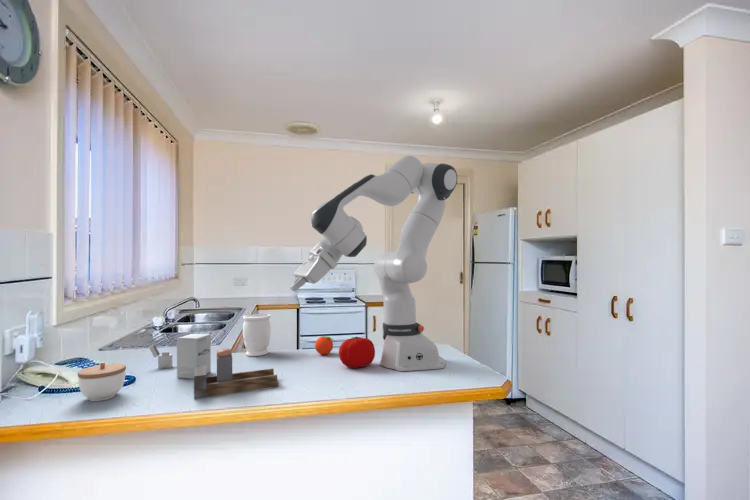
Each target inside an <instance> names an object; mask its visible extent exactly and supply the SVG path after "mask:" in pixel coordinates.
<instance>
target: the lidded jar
mask: <svg viewBox="0 0 750 500" xmlns="http://www.w3.org/2000/svg"><path fill="white" fill-rule="evenodd" d="M126 366H127V365H126V364H124V363H115V362H114V363H106V362H104V361H103V362H102V361H101V362H100V363H99V364H97V365H92V366H88V367H85V368H82V369H80V370H79V371H78V373H77V377H78V387H79V391H80V393H81V394H82V396H83V397H85V399H86V398H87V399H88V401H89V400H90V402H100V401H106V400H110V399H113V398H114V397H116V396H117V394H118V393H119V392H120V390H122V388H123V386H124V384H125V380H126V369H127V367H126Z"/></svg>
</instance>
